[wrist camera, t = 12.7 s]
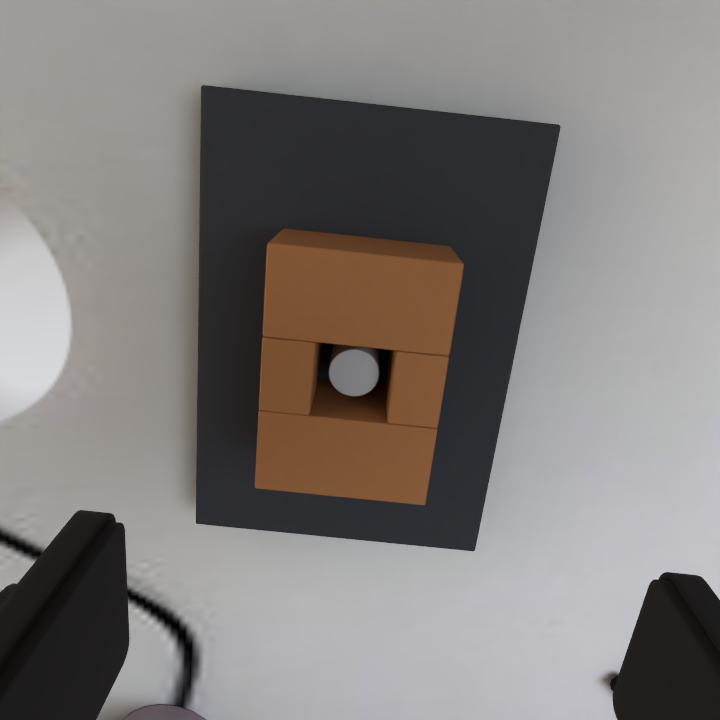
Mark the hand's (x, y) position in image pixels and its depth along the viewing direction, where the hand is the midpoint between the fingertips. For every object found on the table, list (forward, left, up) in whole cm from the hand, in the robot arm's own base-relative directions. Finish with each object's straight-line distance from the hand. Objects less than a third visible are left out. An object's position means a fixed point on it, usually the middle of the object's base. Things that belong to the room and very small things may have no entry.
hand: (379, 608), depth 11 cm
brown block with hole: (+1, -1, -17) cm, 17 cm away
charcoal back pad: (+1, -1, -19) cm, 19 cm away
